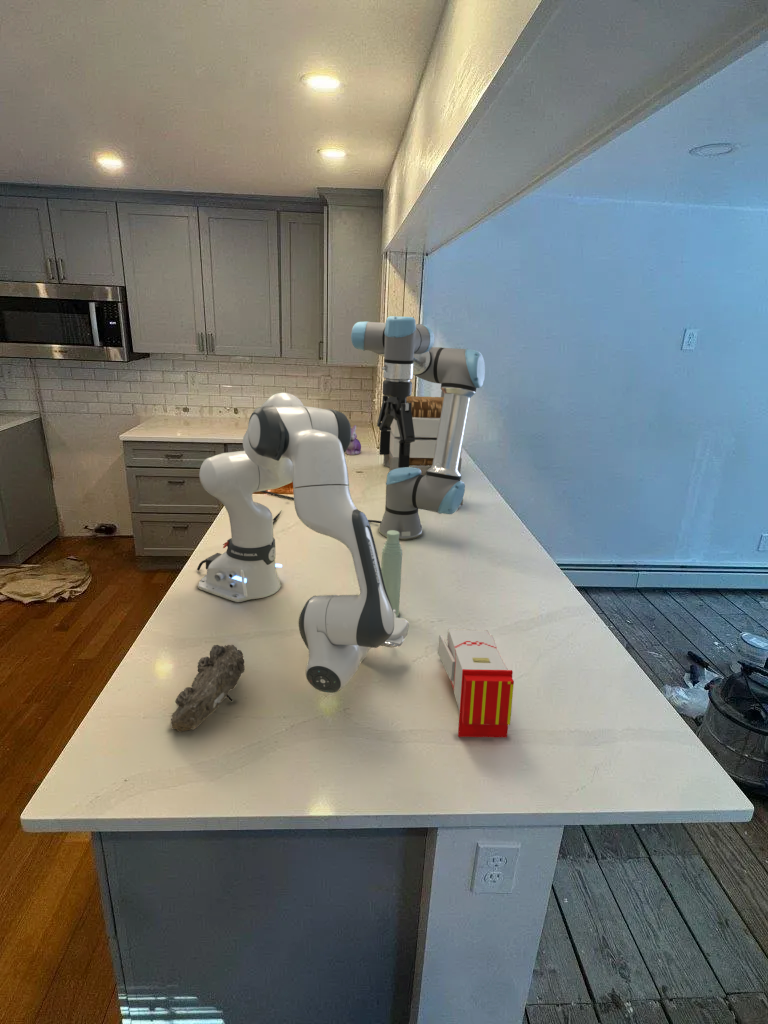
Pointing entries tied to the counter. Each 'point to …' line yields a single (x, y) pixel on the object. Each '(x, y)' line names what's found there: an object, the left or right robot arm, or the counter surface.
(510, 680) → the toy
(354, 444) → the figurine
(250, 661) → the counter surface
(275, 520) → the feather
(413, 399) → the transformer
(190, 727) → the fossil
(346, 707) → the counter surface
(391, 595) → the bottle
